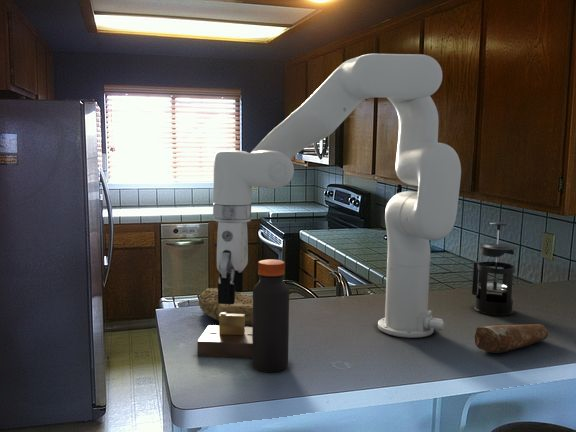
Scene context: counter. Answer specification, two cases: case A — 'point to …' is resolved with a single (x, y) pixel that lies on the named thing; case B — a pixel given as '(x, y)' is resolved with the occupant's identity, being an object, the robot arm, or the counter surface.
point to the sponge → (226, 305)
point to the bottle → (270, 318)
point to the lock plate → (225, 343)
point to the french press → (495, 302)
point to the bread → (508, 337)
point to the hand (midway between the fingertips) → (230, 297)
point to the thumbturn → (231, 324)
